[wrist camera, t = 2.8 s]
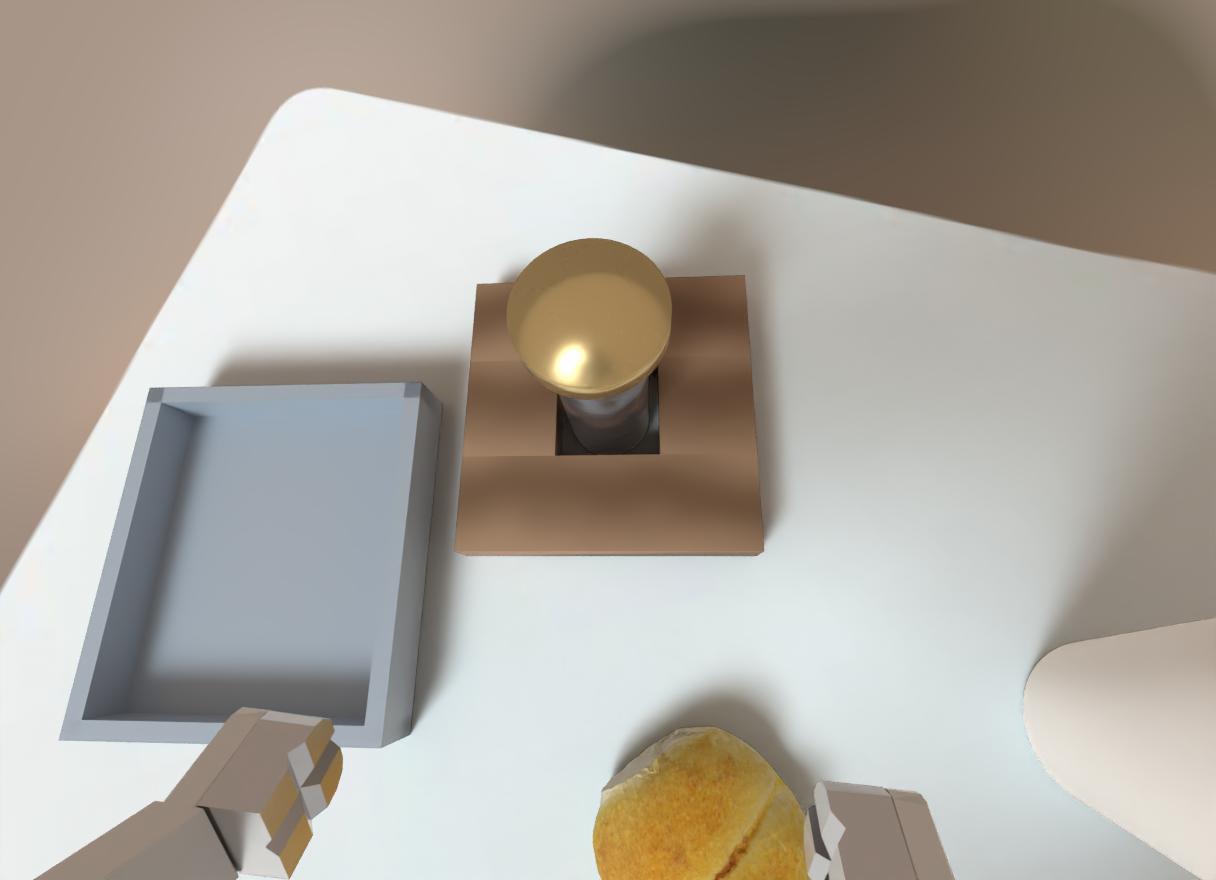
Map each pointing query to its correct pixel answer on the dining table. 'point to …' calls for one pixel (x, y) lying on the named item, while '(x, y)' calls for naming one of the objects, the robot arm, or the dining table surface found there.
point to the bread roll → (699, 814)
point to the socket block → (616, 484)
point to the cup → (1135, 734)
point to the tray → (264, 564)
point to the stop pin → (593, 335)
